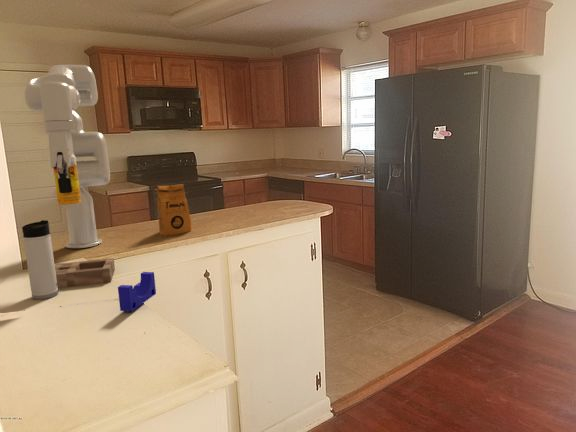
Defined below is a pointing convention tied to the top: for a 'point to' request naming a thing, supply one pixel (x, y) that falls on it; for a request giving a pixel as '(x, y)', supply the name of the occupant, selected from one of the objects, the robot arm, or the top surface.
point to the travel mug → (40, 260)
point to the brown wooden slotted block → (84, 272)
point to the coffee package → (173, 210)
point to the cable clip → (137, 292)
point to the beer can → (74, 196)
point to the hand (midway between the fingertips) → (68, 190)
